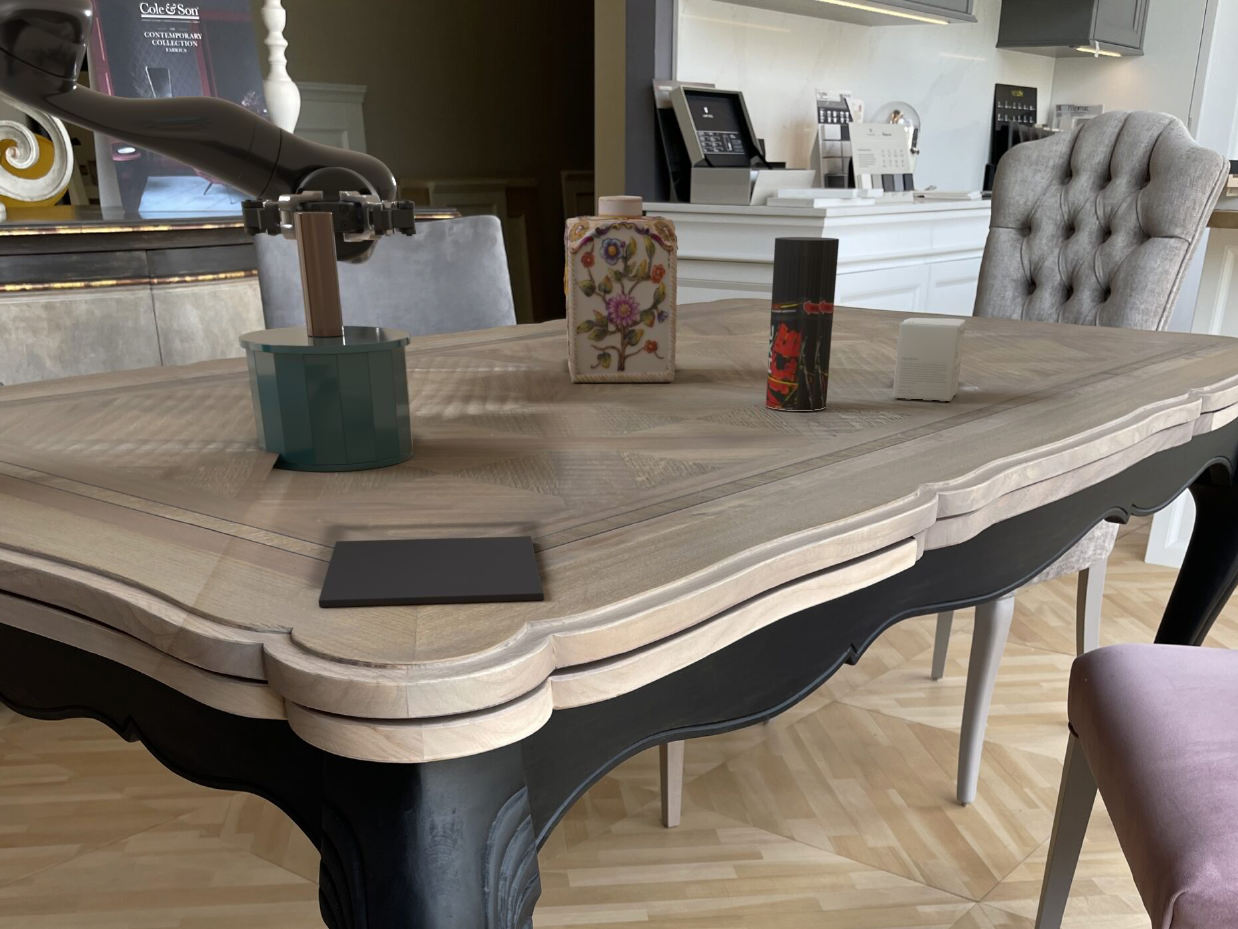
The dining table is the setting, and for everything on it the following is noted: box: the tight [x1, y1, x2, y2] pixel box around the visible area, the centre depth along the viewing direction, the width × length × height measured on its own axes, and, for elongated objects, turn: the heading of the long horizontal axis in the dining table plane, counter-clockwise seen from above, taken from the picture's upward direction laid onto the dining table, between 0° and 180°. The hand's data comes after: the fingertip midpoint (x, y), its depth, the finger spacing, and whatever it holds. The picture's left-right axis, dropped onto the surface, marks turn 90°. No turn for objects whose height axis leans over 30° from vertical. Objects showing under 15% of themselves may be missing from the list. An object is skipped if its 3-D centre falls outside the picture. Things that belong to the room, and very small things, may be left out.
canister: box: [245, 346, 414, 473], centre depth 99 cm, size 12×12×8 cm
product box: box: [892, 317, 967, 402], centre depth 128 cm, size 6×6×7 cm
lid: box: [238, 212, 412, 354], centre depth 95 cm, size 13×13×10 cm
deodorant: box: [765, 236, 840, 410], centre depth 120 cm, size 6×6×15 cm
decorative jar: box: [563, 195, 679, 384], centre depth 136 cm, size 12×12×18 cm
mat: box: [318, 535, 545, 608], centre depth 72 cm, size 12×12×1 cm
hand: (324, 220), depth 101 cm, fingers open, 8 cm apart
